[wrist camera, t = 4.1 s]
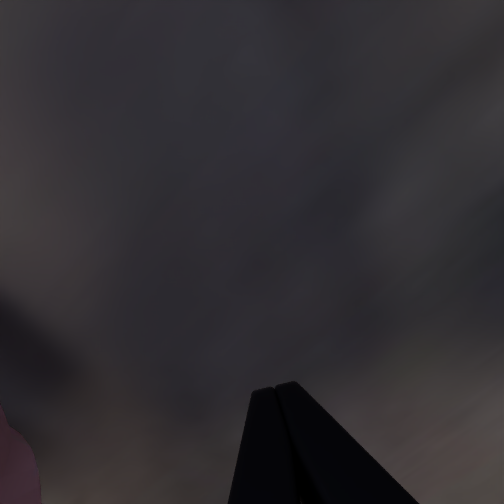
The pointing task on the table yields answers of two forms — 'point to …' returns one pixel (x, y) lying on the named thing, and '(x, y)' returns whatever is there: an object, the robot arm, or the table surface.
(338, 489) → the robot arm
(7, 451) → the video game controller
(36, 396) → the table surface
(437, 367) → the table surface
